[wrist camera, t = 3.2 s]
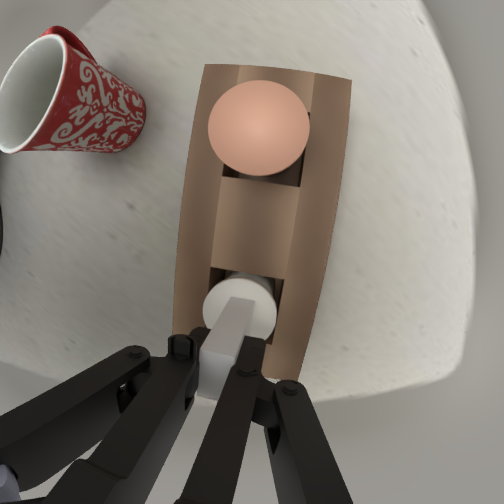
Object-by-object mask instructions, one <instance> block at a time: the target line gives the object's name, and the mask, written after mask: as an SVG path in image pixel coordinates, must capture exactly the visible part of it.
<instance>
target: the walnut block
mask: <svg viewBox="0 0 504 504" xmlns="http://www.w3.org/2000/svg"><path fill="white" fill-rule="evenodd" d="M255 80H265V81H271V82H275V83H278V84H281V85H283V86H285V87H287V88H288V89H290V90H291V91H292V92H294V93H295V94H296V95H297V96H298V97H299V99H300V100H301V101H302V103H303V104H304V106H305V108H306V111H307V113H308V117H309V124H310V130H309V137H308V140H307V143H306V146H305V148H304V150H303V152H302V154H301V155H300V157H299V158H298V159H297V160H296V161H295V162H294V163H293V164H292V165H291V166H290V167H289V168H288V169H287V170H285V171H284V172H282V173H280V174H277V175H272V176H252V175H247V174H244V173H241V172H239V171H236V170H234V169H232V168H231V167H229V166H228V165H226V164H225V163H224V162H223V161H221V159H220V158H219V157H218V156H217V155H216V153H215V152H214V150H213V148H212V146H211V143H210V140H209V135H208V122H209V117H210V114H211V111H212V109H213V107H214V105H215V104H216V102H217V101H218V100H219V98H220V97H221V96H222V95H223V94H224V93H226V92H227V91H228V90H229V89H231V88H233V87H234V86H237V85H239V84H241V83H244V82H248V81H255ZM351 84H352V80H349V79H344V78H340V77H335V76H330V75H324V74H319V73H313V72H306V71H300V70H292V69H284V68H275V67H264V66H251V65H229V64H205V67H204V71H203V76H202V80H201V85H200V90H199V95H198V100H197V105H196V111H195V116H194V122H193V128H192V134H191V140H190V146H189V152H188V159H187V166H186V173H185V181H184V188H183V197H182V205H181V214H180V223H179V234H178V245H177V257H176V270H175V285H174V304H173V330H172V335H175V334H185V335H189V334H190V332H191V331H192V330H193V329H195V328H197V327H199V326H200V327H204V328H207V327H206V324H205V322H204V318H203V304H204V301H205V299H206V297H207V295H208V294H209V292H210V291H211V290H212V288H213V287H214V286H215V285H216V284H218V283H219V282H221V281H222V280H224V279H227V278H228V277H229V275H230V274H231V273H232V271H238V272H243V273H249V274H255V275H261V276H266V277H272V278H274V279H275V291H274V300H275V303H276V307H277V316H276V323H275V327H274V329H273V331H272V333H271V334H270V336H269V337H268V338H267V339H266V340H265V343H266V348H265V354H264V359H263V364H262V369H261V373H262V375H263V376H264V377H268V378H274V379H280V380H287V379H288V380H294V381H298V377H299V374H300V370H301V367H302V363H303V360H304V356H305V352H306V349H307V345H308V341H309V337H310V333H311V330H312V326H313V322H314V318H315V313H316V309H317V305H318V301H319V296H320V292H321V288H322V283H323V278H324V274H325V269H326V264H327V259H328V254H329V249H330V244H331V239H332V233H333V228H334V222H335V216H336V210H337V204H338V198H339V192H340V185H341V178H342V171H343V164H344V156H345V148H346V139H347V130H348V120H349V110H350V98H351Z"/></svg>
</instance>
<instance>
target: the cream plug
mask: <svg viewBox="0 0 504 504" xmlns="http://www.w3.org/2000/svg"><path fill="white" fill-rule="evenodd" d="M274 291H275V279H274V278H272V277H266V276H261V275H255V274H249V273H243V272H238V271H232V273H231V274H230V275H229V277H228V278H227V279H224V280H222V281H221V282H219V283H218V284H216V285H215V286H214V287H213V288H212V290H211V291H210V292H209V294H208V295H207V297H206V299H205V301H204V304H203V318H204V322H205V324H206V327H207V328H209V329H212V328H213V326H214V324H215V323H216V321H217V319H218V318H219V316H220V314H221V313H222V311H223V309H224V307H225V306H226V304H227V302H228V301H229V299H230V297H236V298H241V299H246V300H252V301H255V303H254V309H253V315H252V322H251V328H250V334H249V336H251V337H257V338H262V339H264V341H265V340H266V339H267V338H268V337H269V336H270V334H271V333H272V331H273V329H274V327H275V323H276V316H277V307H276V303H275V300H274Z"/></svg>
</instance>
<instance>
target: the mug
mask: <svg viewBox="0 0 504 504" xmlns="http://www.w3.org/2000/svg"><path fill="white" fill-rule="evenodd" d="M144 121H145V104H144V101H143V99H142V97H141V96H140V94H139V93H138V92H137V91H136V90H134V89H133V88H132V87H130V86H129V85H127V84H126V83H124V82H123V81H121V80H120V79H119V78H117V77H116V76H115V75H113V74H111V73H110V72H109V71H107V70H106V69H104V68H103V67H101V66H100V65H98V64H97V62H96V61H95V59H94V58H93V56H92V55H91V54H90V52H89V51H88V49H87V48H86V47H85V46H84V44H83V43H82V42H81V41H80V40H79V39H78V38H77V37H76V36H75V35H74V34H73V33H72V32H70V31H69V30H67V29H66V28H64V27H61V26H53V27H51V28H49V29H48V30H47V31H45V32H44V33H43V34H42V35H41V36H40V37H39V38H38V39H37V40H35V41H34V42H32V43H31V44H30V45H29V46H28V47H27V48H25V50H24V51H23V52H22V53H21V54H20V55H19V56H18V57H17V59H16V60H15V61H14V63H13V64H12V66H11V67H10V69H9V70H8V72H7V74H6V76H5V78H4V80H3V82H2V84H1V87H0V150H1V151H2V152H4V153H7V154H13V153H17V152H19V151H86V152H105V153H113V152H118V151H121V150H123V149H125V148H126V147H128V146H129V145H130V144H131V143H132V142H134V140H135V139H136V138H137V136H138V135H139V133H140V131H141V130H142V127H143V124H144Z"/></svg>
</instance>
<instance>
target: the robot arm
mask: <svg viewBox="0 0 504 504" xmlns="http://www.w3.org/2000/svg"><path fill="white" fill-rule="evenodd" d="M1 245H2V219H1V211H0V252H1ZM254 303H255V301H252V300H246V299H241V298H236V297H230V299H229V301H228V302H227V304H226V306H225V307H224V309H223V311H222V313H221V314H220V316H219V318H218V319H217V321H216V323H215V324H214V326H213V328H212V329H209V328H204V327H200V326H199V327H197V328H195V329H193V330H192V331H191V332H190V334H189V335H185V334H175V335H172V336H170V337H169V338H168V354H167V355H166V357H152V356H150V353H149V351H148V350H147V349H146V348H145V347H142V346H137V345H133V346H128V347H125V348H123V349H122V350H120V351H118V352H116V353H115V354H113V355H111V356H109V357H108V358H106V359H104V360H102V361H100V362H99V363H97V364H95V365H93V366H92V367H90V368H88V369H86V370H84V371H83V372H81V373H79V374H77V375H75V376H74V377H72V378H70V379H68V380H66V381H65V382H63V383H61V384H59V385H57V386H55V387H54V388H52V389H50V390H48V391H46V392H44V393H43V394H41V395H39V396H37V397H35V398H33V399H31V400H30V401H28V402H26V403H24V404H22V405H20V406H18V407H16V408H15V409H13V410H11V411H9V412H7V413H5V414H3V415H2V416H0V504H145V502H146V500H147V498H148V495H149V493H150V491H151V489H152V487H153V485H154V483H155V481H156V479H157V477H158V475H159V473H160V471H161V469H162V467H163V465H164V463H165V461H166V459H167V457H168V455H169V453H170V451H171V448H172V446H173V444H174V442H175V440H176V438H177V436H178V434H179V432H180V430H181V428H182V426H183V424H184V422H185V419H186V417H187V415H188V413H189V411H190V409H191V407H192V405H193V403H194V394H195V392H196V390H197V396H201V397H205V398H209V399H213V400H217V401H218V403H217V405H216V408H215V411H214V413H213V416H212V419H211V421H210V424H209V426H208V429H207V432H206V434H205V436H204V439H203V442H202V444H201V447H200V449H199V452H198V454H197V457H196V460H195V462H194V464H193V467H192V470H191V472H190V475H189V477H188V479H187V482H186V484H185V487H184V489H183V492H182V494H181V496H180V498H179V499H177V500H176V501H175V503H174V504H232V501H233V497H234V493H235V489H236V485H237V481H238V476H239V472H240V468H241V464H242V460H243V455H244V450H245V446H246V442H247V437H248V433H249V428H250V423H251V421H253V422H255V423H257V424H259V425H262V426H264V433H265V438H266V443H267V448H268V453H269V458H270V463H271V468H272V473H273V478H274V483H275V488H276V492H277V497H278V502H279V504H353V502H352V499H351V497H350V494H349V492H348V490H347V487H346V485H345V482H344V480H343V478H342V475H341V473H340V470H339V468H338V465H337V463H336V461H335V458H334V456H333V454H332V451H331V449H330V446H329V444H328V441H327V439H326V436H325V434H324V432H323V429H322V427H321V425H320V422H319V420H318V417H317V415H316V412H315V410H314V407H313V405H312V403H311V400H310V398H309V395H308V393H307V390H306V388H305V387H304V386H303V385H302V384H301V383H299V382H297V381H294V380H288V379H287V380H281V381H279V382H277V383H276V384H275V383H272V382H270V381H268V380H267V379H265V378H264V376H263V375H262V373H261V369H262V364H263V359H264V354H265V348H266V343H265V341H264V339H262V338H257V337H251V336H249V334H250V328H251V322H252V315H253V309H254ZM123 384H125V385H124V386H123V387H121V386H122V385H123ZM120 387H121V388H120ZM103 438H104V439H103ZM102 439H103V440H102ZM101 440H102V441H101ZM99 441H101V443H100V444H99V446H98V447H97V448H96V449H95V451H94V452H93V453H92V455H91V456H90V457H89V458H88V459H86V460H84V459H77V458H78V457H80V456H81V455H82V454H84V453H85V452H86V451H88V450H89V449H90V448H91V447H93V446H94V445H95V444H97V443H98V442H99ZM76 459H77V460H76ZM74 460H75V461H74ZM73 461H74V462H73ZM71 462H73V463H72V464H71V465H70V467H69V468H68V469H67V470H66V472H65V473H64V474H63V476H62V477H61V478H60V479H59V481H58V482H57V483H56V485H55V486H54V487H53V489H52V490H51V491H50V492H49V494H48V495H47V496H46V497H41V498H35V499H28V500H21V498H20V495H19V492H22V491H27V490H29V489H31V488H34V487H36V486H38V485H40V484H41V483H43V482H45V481H46V480H48V479H49V478H50V477H52V476H53V475H55V474H56V473H58V472H59V471H60V470H62V469H63V468H64V467H66V466H67V465H69V464H70V463H71Z"/></svg>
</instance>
